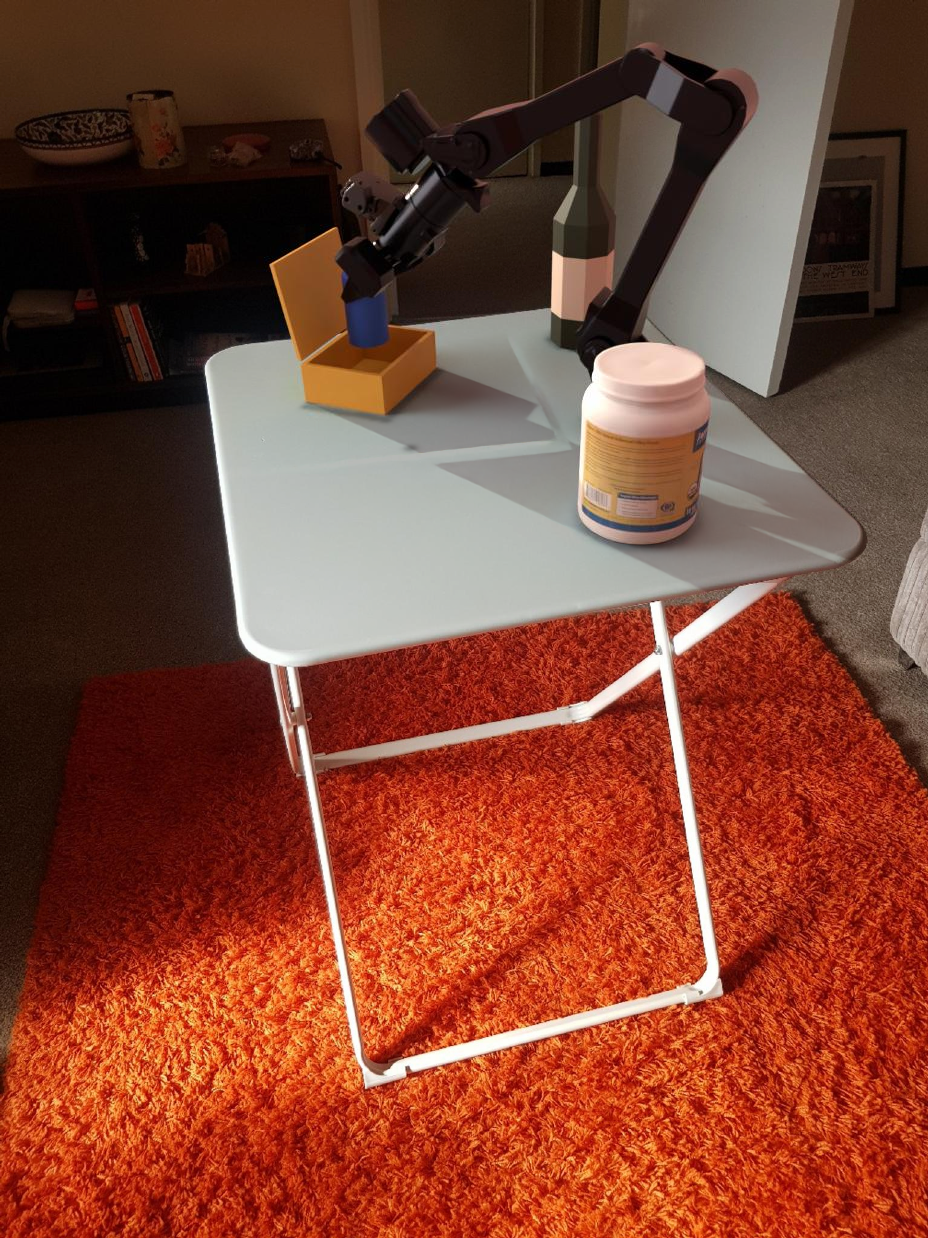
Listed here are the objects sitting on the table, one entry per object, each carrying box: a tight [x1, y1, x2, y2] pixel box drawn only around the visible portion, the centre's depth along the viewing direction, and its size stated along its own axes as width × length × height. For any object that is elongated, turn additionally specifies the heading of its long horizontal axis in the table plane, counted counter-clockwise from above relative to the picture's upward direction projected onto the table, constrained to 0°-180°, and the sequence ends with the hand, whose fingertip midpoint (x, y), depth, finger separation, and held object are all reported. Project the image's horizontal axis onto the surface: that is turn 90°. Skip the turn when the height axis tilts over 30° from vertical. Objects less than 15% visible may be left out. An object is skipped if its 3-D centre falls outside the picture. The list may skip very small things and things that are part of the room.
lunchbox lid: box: [269, 227, 347, 362], centre depth 124 cm, size 12×15×4 cm
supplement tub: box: [577, 342, 711, 545], centre depth 96 cm, size 12×12×17 cm
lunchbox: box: [300, 324, 438, 416], centre depth 127 cm, size 11×15×6 cm
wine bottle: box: [550, 111, 617, 351], centre depth 130 cm, size 8×8×30 cm
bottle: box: [341, 271, 389, 348], centre depth 121 cm, size 5×5×12 cm
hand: (354, 292), depth 121 cm, fingers closed on bottle, 5 cm apart
